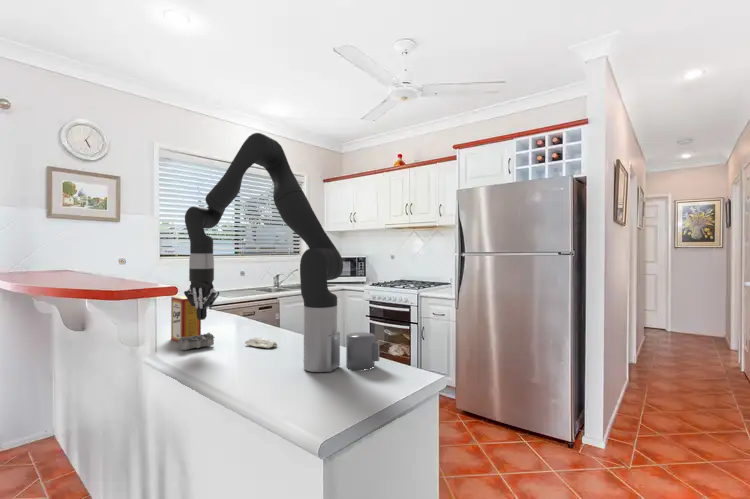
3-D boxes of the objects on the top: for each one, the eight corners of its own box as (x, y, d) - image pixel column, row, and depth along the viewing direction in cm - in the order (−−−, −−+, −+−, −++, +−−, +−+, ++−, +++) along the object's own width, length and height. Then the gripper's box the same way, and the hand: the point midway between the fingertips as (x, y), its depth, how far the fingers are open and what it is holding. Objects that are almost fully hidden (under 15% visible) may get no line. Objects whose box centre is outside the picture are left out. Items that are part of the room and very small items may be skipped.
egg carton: (180, 350, 126) (179, 338, 126) (177, 347, 132) (176, 335, 132) (215, 345, 132) (215, 333, 132) (211, 342, 138) (210, 330, 138)
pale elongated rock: (242, 343, 134) (249, 332, 137) (250, 349, 138) (256, 339, 140) (268, 349, 128) (274, 338, 131) (275, 356, 132) (282, 345, 134)
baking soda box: (171, 339, 145) (171, 296, 145) (189, 336, 150) (189, 294, 150) (182, 343, 139) (182, 298, 139) (200, 340, 144) (200, 296, 144)
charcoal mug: (382, 365, 113) (383, 333, 113) (374, 373, 106) (374, 339, 106) (352, 362, 116) (352, 331, 116) (341, 369, 109) (341, 337, 109)
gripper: (225, 267, 133) (225, 318, 133) (194, 266, 137) (193, 316, 137) (210, 268, 125) (209, 322, 125) (177, 267, 130) (176, 320, 130)
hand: (201, 319), depth 131 cm, fingers closed
